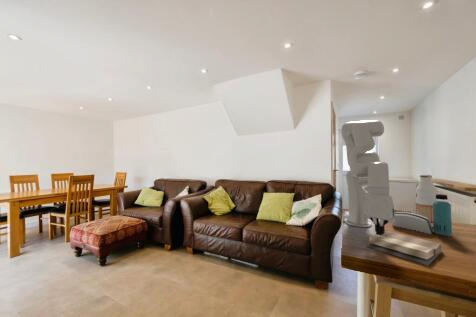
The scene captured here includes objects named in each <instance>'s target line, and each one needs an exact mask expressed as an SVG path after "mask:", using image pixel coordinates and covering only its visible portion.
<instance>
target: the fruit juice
mask: <svg viewBox="0 0 476 317" xmlns="http://www.w3.org/2000/svg"><path fill="white" fill-rule="evenodd" d="M419 178H420V181H419V182H418V185H417V186H416V187H415V194H416V196H415V214H418V215H421V216H424V217H426V218H428V219H429V221H430V223H431V226H432V227H434V225H433V223H434V218H433V203H434V202H435V201H439V199H436V194H438V192H439V190H438V189H437V188H436V186H435V185H434V182H433V180H432V179H433V175H431V174H420V176H419Z"/></svg>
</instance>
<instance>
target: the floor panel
mask: <svg viewBox="0 0 476 317" xmlns="http://www.w3.org/2000/svg"><path fill="white" fill-rule="evenodd" d="M382 236H386V237H390V238H394V239H398V240H402V241H406V242H410V243H414V244H417V245H421V246H425V247H429V248H433V249H434V255H433V256H432V257H430V258H429V259H423V258H420V257H417V256H413V255H410V254H406V253H403V252H399V251H396V250H393V249H389V248H386V247H382V246H379V245H375V244H372V243H369V242H368V243H367V244H366V246H365V247H366V248H370V249H372V250H375V251H380V252H382V253H386V254H390V255H392V256H395V257H399V258H402V259H405V260H408V261H411V262H415V263H417V264H421V265H424V266H427V267H428V266H430V264H431V263H433V261H434V260H436V258H437V257H438V256H439V255H441V254H442V243H440V242H436V241H432V240H427V239H423V238H420V237H414V236H410V235H405V234H401V233H398V232H393V231H387V230H385V233H384V234H383V235H382Z"/></svg>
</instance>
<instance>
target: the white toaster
mask: <svg viewBox="0 0 476 317" xmlns="http://www.w3.org/2000/svg"><path fill="white" fill-rule="evenodd" d="M394 212H395V211H394ZM394 220H395V222H394V223H391V226H392V227H396V228H400V227H401V229H405V228H406V230H409V229H411V230H410V231H414V230H416V231H415V232H418V231H420V233H423V232H424V234H429V235H432V234H433V233H435V232H434V229H433V228H432V226H431V223H430V221H429V219H428V218H426V217H424V216H421V215H418V214H416V213H413V212H408V211H396V212H395V217H394Z"/></svg>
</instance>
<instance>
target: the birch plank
mask: <svg viewBox="0 0 476 317" xmlns="http://www.w3.org/2000/svg"><path fill="white" fill-rule="evenodd" d="M368 239H369V241H368V244H369V243H372V244H375V245H379V246H382V247H386V248H389V249H393V250H396V251H399V252H403V253H406V254H410V255H413V256H417V257H420V258H423V259H429V258H430V257H432V256H433V255H434V249H433V248H429V247H425V246H421V245H417V244H414V243H410V242H406V241H402V240H398V239H394V238H390V237H386V236H382V235H377V234H373V235H371V236H369V238H368Z"/></svg>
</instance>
